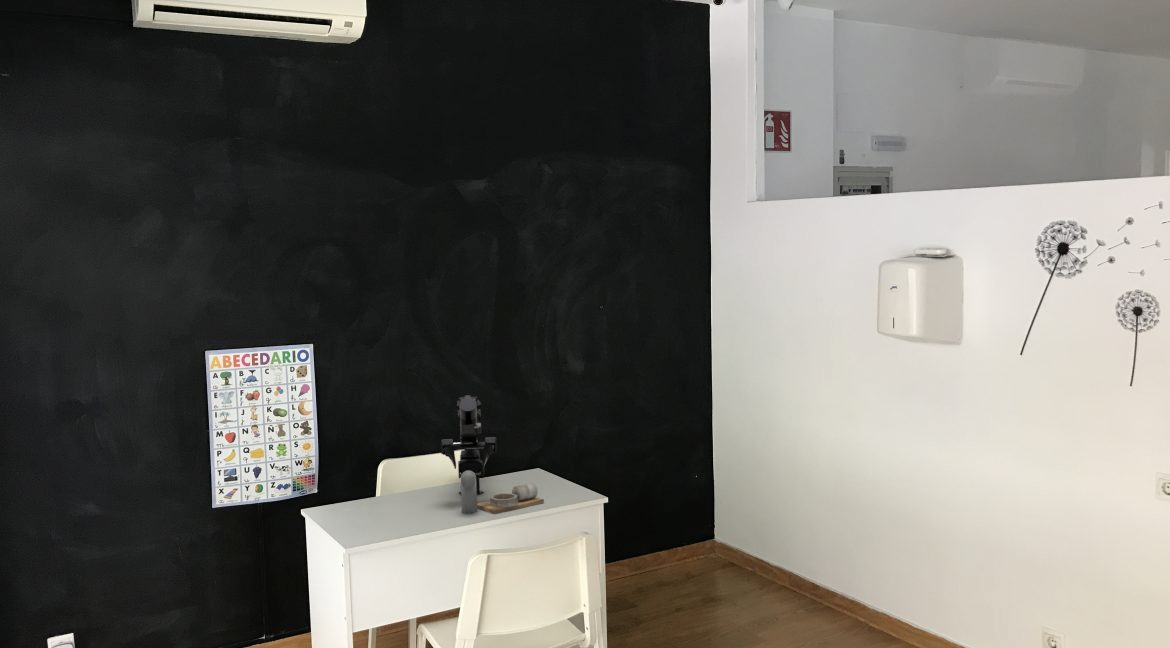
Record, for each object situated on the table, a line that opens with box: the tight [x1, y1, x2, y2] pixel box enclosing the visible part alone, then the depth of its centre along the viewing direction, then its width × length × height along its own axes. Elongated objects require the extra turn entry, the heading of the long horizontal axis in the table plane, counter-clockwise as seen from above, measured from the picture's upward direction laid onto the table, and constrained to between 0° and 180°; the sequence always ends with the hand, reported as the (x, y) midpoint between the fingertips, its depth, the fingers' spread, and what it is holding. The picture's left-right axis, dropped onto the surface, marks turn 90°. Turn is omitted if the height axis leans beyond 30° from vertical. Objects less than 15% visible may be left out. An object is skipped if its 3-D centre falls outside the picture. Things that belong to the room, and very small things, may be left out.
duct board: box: [477, 482, 545, 515], centre depth 302 cm, size 12×20×6 cm, turn 130°
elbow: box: [460, 470, 478, 514], centre depth 294 cm, size 7×5×14 cm
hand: (469, 467), depth 300 cm, fingers open, 9 cm apart
